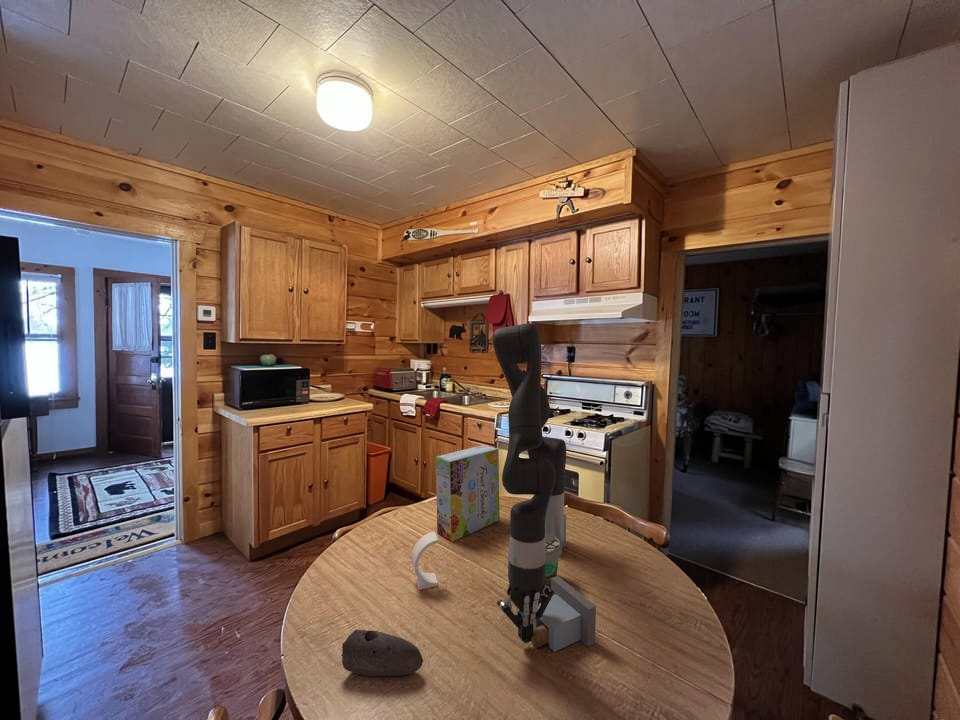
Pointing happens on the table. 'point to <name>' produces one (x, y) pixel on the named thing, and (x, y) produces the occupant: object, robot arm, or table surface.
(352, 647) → the perforated stone tool
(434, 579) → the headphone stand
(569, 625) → the block
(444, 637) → the table surface
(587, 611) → the backstop wall
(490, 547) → the table surface
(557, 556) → the ice cream tub
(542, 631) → the dowel
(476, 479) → the snack box
